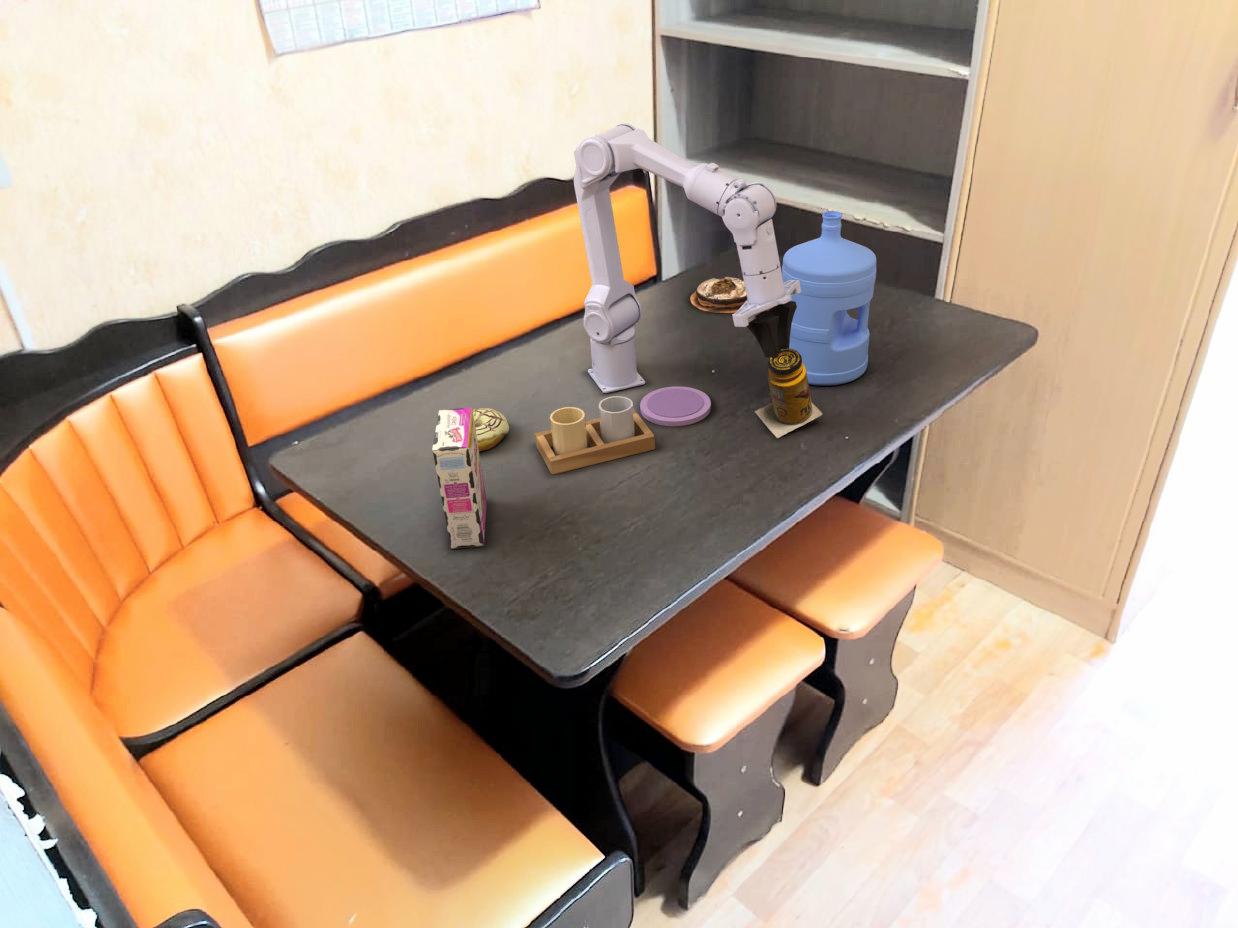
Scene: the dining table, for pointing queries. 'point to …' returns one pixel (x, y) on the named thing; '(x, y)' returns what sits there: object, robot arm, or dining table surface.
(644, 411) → the lavender plate
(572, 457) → the cup rack
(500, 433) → the decorated donut
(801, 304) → the water jug
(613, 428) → the steel cup
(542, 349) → the dining table surface
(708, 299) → the cake on plate
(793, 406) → the condiment
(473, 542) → the candy bar box
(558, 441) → the beige cup
